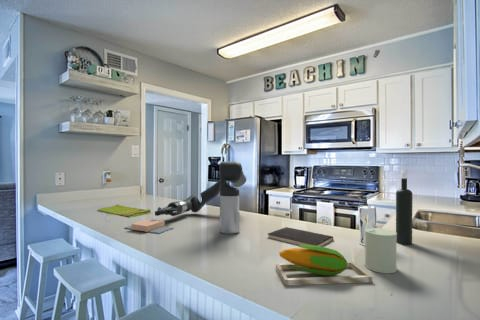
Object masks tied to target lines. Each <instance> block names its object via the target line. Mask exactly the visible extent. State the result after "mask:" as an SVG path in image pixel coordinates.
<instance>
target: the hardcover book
mask: <svg viewBox="0 0 480 320" xmlns="http://www.w3.org/2000/svg"><path fill="white" fill-rule="evenodd" d="M267 235H268V236H267V237H268V239H272V240H273V239H274V240H277V241H280V242H284V243H285V242H286V243H290V244H292V245H293V244H294V245H297V246H299V245H313V246H320V247H323V246H324V245H327V244H328V243H330V242H332V241H334V236H333V235H327V234H323V233H319V232H313V231H307V230H302V229H297V228H293V227H287V226H285V227H282V228H280V229H277V230H274V231H271V232H268V233H267Z"/></svg>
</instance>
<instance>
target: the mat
mask: <svg viewBox="0 0 480 320" xmlns="http://www.w3.org/2000/svg"><path fill="white" fill-rule="evenodd" d="M124 229H125V230H133V229H131V225H128V226H125V227H124ZM173 229H174V227H171V226H166V225H165V226H163V227H160V228H157V229H154V230H151V231H148V232H146V231H144V232H145V233H150V234H156V233H158V234H159V235H160V234H163V233H165V231H166V232H169V231H171V230H173ZM168 230H169V231H168ZM133 231H134V230H133ZM136 231H138V232H141V231H140V230H136Z"/></svg>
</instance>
